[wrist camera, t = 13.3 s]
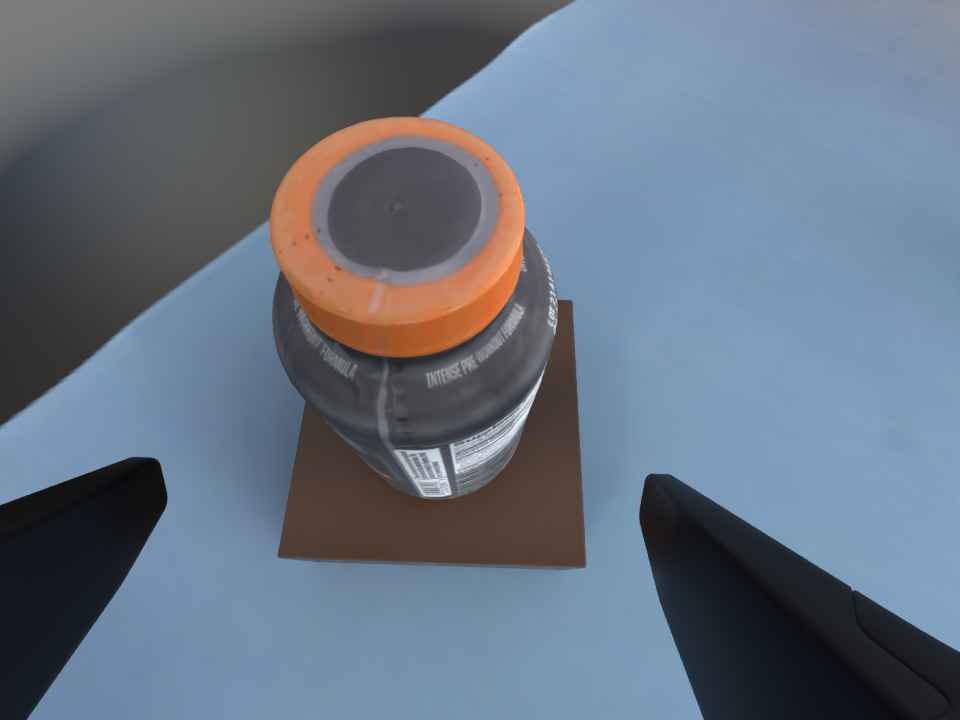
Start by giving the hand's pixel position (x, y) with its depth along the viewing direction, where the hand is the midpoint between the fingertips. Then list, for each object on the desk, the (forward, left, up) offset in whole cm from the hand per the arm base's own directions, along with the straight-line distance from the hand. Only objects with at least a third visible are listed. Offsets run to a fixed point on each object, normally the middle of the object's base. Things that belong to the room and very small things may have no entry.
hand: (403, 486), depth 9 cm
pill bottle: (+3, +2, -8) cm, 9 cm away
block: (+4, +2, -12) cm, 13 cm away
